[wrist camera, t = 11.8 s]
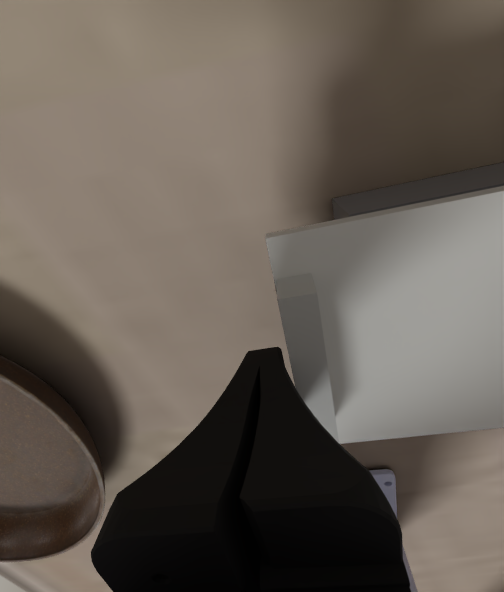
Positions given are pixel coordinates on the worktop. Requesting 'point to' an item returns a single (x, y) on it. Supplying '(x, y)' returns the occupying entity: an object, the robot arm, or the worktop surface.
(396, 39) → the worktop surface
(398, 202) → the housing
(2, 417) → the plant saucer
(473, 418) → the lid
